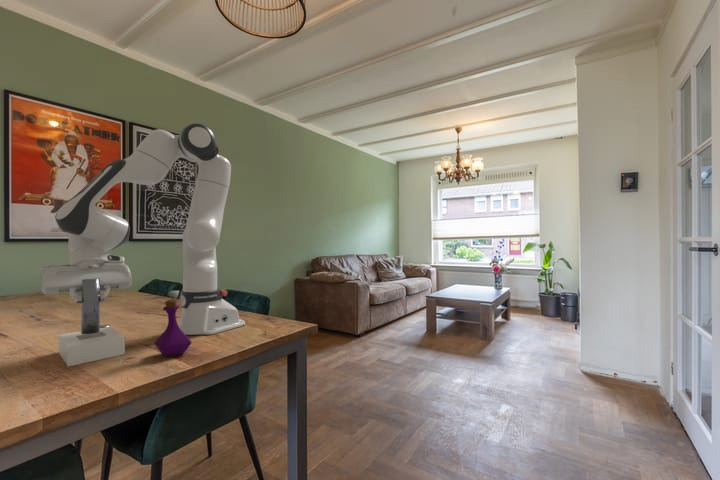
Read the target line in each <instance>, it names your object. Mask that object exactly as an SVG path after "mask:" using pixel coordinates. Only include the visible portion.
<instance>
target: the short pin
mask: <svg viewBox="0 0 720 480" xmlns="http://www.w3.org/2000/svg"><path fill="white" fill-rule="evenodd" d="M105 327H112V326H111V324H102V325H101V324H99V328H105Z"/></svg>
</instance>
